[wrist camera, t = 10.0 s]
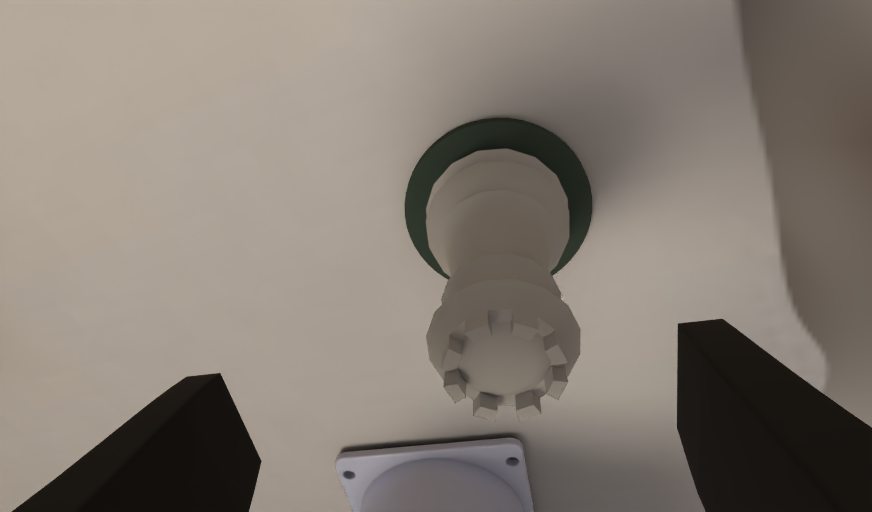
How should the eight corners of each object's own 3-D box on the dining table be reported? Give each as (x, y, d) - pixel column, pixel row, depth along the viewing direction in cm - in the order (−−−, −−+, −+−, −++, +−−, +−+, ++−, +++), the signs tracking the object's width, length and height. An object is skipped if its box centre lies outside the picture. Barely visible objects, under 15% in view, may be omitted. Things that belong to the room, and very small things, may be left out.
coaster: (596, 274, 20) (598, 280, 19) (426, 296, 21) (425, 302, 20) (583, 101, 17) (585, 104, 16) (387, 135, 18) (385, 139, 17)
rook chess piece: (450, 283, 20) (431, 469, 13) (408, 165, 18) (359, 307, 11) (579, 253, 19) (636, 436, 12) (550, 125, 17) (598, 252, 10)
